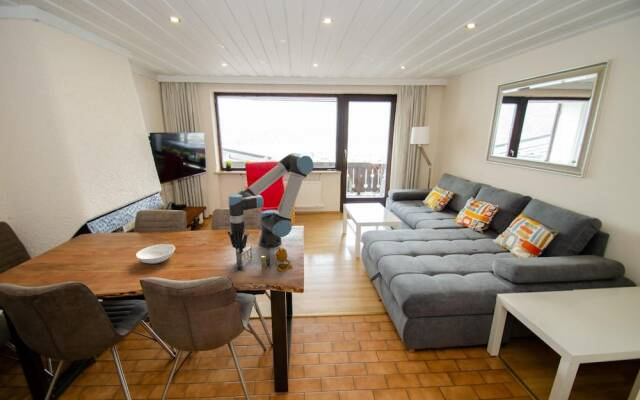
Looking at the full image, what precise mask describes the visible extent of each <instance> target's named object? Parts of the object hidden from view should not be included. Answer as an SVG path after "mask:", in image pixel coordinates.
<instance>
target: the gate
mask: <svg viewBox="0 0 640 400" xmlns="http://www.w3.org/2000/svg"><path fill="white" fill-rule="evenodd" d="M253 255H254V254H253V245H249V247H246V249H245V250H243V252H242V253H241V266H244V264H245V263H246V262H247V261H248V260H250V259H252V258H253V257H254V256H253Z"/></svg>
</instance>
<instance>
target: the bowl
mask: <svg viewBox="0 0 640 400" xmlns="http://www.w3.org/2000/svg"><path fill="white" fill-rule="evenodd" d="M175 250H176V246H175V245H173V244H171V243H160V244H155V245H149V246H148V247H144V248H142V249H140V250H139V251H137V252H136V254H135V257H136V258H137V259H138V260H139V261H140V262H142V263H147V264H159V263H163V262H164V261H166V260H168V259H169V258H170V257H172V256H173V254H174V251H175Z"/></svg>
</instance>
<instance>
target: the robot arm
mask: <svg viewBox="0 0 640 400" xmlns="http://www.w3.org/2000/svg"><path fill="white" fill-rule="evenodd" d="M313 169H314V161H313V159H312V157H311V156H310V155H307V154H304V153H303V154H301V153H296V152H294V153H289V154H287V155H286V156H284V157H283V158H282V159H280V160H279V161H278V162H277V164H276V165H275V166H274V167H273V168H271V170H269V171H268V172H266V173H265V174H264V175H263V176H261V177H260V178H259V179H257V180H256V181H255V182H254V183H252V184H251V185H250V186H248V187H247V188H246V189H245V190H240V191H239V192H238V193H236V194H231V195H229V196H228V208H229V221H230V230H229V231H228V232H227V234H228V236H229V238H230V243H231V246H232V248H234V249H235V254H236V253H237V252H240V253H242V252H243V251H244V249H245V248H247V241H248V236H249V235H250V234H249V232H246V230H245V214H244V211H248V210H255V209H260V208H263V206H264V198H263V196H262V195H260V194H261V193H262V192H264V191H265V190H267V189H268V188H269V187H270V186H272V185H273V184H274V183H275V182H276V181H278V180H279V179H280V178H281V177H283V176H284V175H288V174H289V178H288V181H287V183H286V186H285V189H284V192H283V194H282V197H281V199H280V203H279V205H278V207H277V209H267V210H262V211H261V212H260V217H259V218H260V231H261V232H260V237H259V239H258V244H259V245H260V246H261V247H263V248H264V247H265V248H273V247H277V246H278V247H279V245H281V244H282V238H284V237H287V236H288V235H289V234H290V232H291V231H292V229H293V228H292V223H291V220H292V219H293V217H292V216H291V214H292V211H293V208H294V206H295V203H296V200H297V198H298V195H299V191H300V189H301V186H302V184H303V180H305V179H306V178H307V177H308V176H307V175H309V174H310V173H312V171H313Z"/></svg>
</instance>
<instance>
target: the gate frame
mask: <svg viewBox="0 0 640 400" xmlns="http://www.w3.org/2000/svg"><path fill="white" fill-rule="evenodd" d="M235 257H236V266H235V269H234V272H235V273H239V272H244V270H245V268H244V265H243V266H241V253H240V252H237V253H236V252H235ZM260 263H261V264H260V265H261V269H266V268H270V267H271V250H270V249H268V248H267V249H265V255H262V256H261V255H260Z"/></svg>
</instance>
